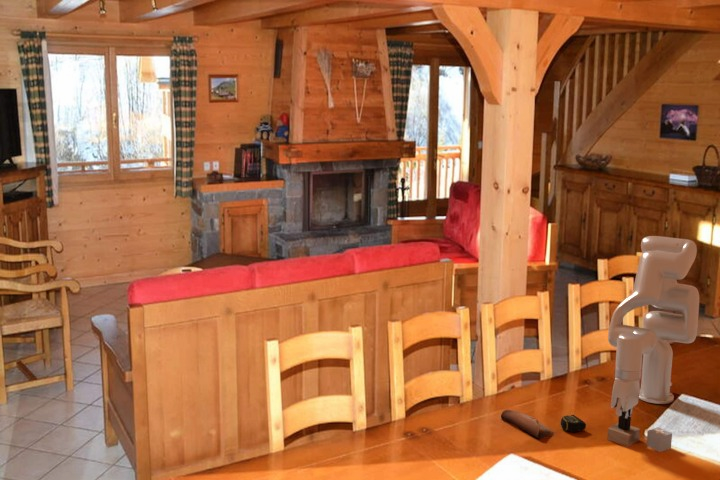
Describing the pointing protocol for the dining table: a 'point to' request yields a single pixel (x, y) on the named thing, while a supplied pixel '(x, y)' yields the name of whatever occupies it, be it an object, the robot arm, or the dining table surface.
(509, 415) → the sunglasses case
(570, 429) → the tape measure
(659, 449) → the slate cube
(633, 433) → the brown block
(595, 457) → the dining table surface
